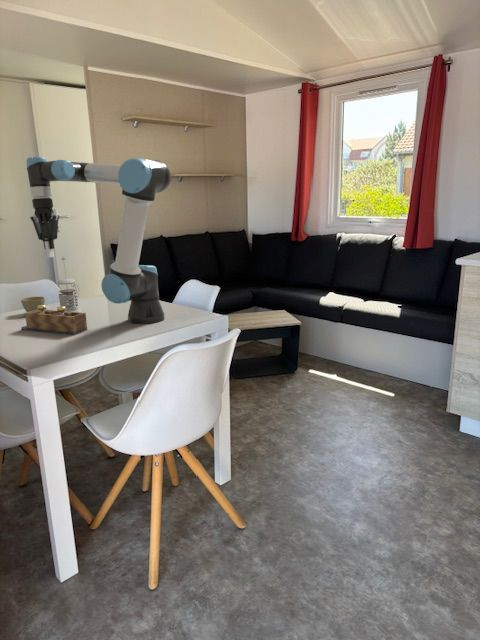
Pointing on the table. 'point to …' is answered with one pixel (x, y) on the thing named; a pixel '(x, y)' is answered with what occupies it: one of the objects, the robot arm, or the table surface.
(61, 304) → the french press
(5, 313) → the table surface
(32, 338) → the table surface
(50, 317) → the wooden compartment box
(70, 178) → the robot arm
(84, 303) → the table surface
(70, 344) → the table surface
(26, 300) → the flower pot
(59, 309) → the rail
